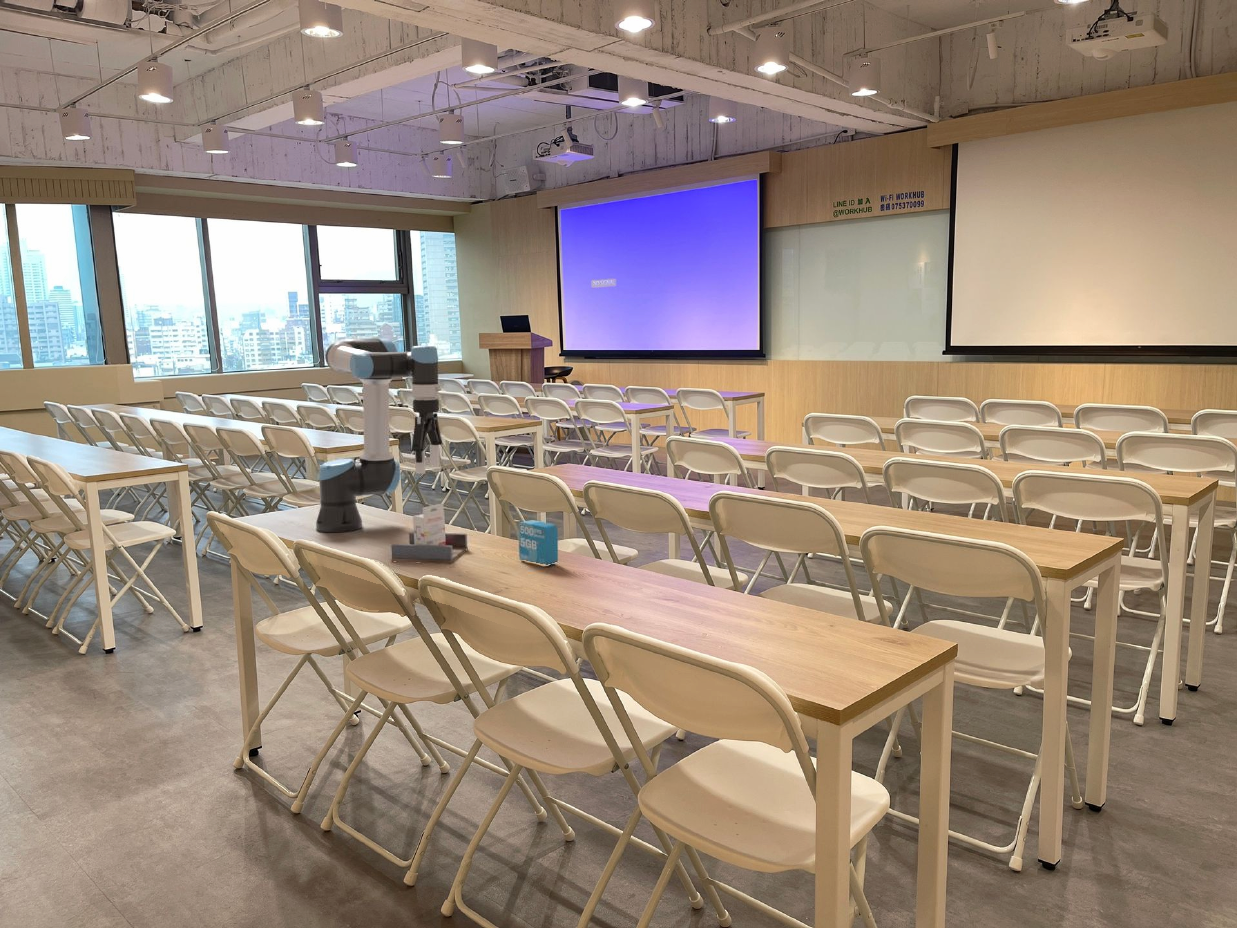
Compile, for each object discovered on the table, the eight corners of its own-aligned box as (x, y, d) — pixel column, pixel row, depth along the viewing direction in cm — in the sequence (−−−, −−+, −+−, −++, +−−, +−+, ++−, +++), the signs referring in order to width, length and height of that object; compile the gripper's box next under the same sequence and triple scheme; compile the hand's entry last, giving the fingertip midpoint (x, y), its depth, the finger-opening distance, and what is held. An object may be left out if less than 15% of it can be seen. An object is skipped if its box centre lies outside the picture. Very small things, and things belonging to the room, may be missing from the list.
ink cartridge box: (435, 548, 275) (433, 501, 273) (446, 550, 272) (444, 503, 270) (413, 553, 268) (411, 505, 266) (424, 556, 265) (423, 507, 263)
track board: (411, 547, 280) (411, 531, 279) (467, 548, 278) (467, 533, 277) (391, 561, 262) (390, 545, 262) (450, 563, 260) (450, 547, 260)
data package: (518, 561, 264) (518, 521, 262) (530, 558, 267) (529, 519, 265) (547, 568, 256) (546, 527, 254) (558, 565, 259) (557, 524, 258)
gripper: (424, 402, 251) (426, 476, 254) (450, 395, 275) (452, 463, 278) (398, 402, 251) (401, 476, 255) (426, 395, 276) (428, 463, 279)
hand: (427, 469), depth 266 cm, fingers open, 13 cm apart
